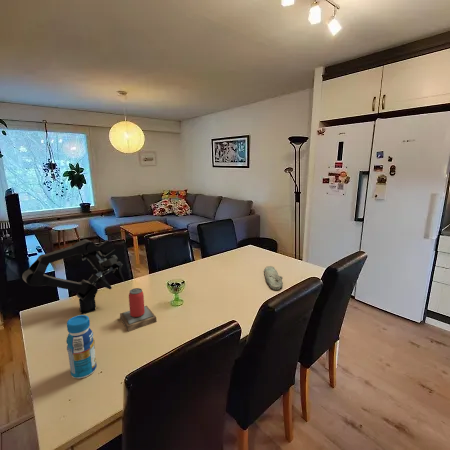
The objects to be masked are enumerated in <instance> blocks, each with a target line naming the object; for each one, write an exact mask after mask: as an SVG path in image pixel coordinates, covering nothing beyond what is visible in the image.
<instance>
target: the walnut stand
mask: <svg viewBox="0 0 450 450" xmlns="http://www.w3.org/2000/svg"><path fill="white" fill-rule="evenodd" d="M144 310H145V313H144V314H143V315H142V316H140V317H132V316H131V315H130V310H127V311H124V312H120V313H119V318H120V320H121V322H122V323H123V325H124V327H125V329H126V331H127V332H130V331H134V330H136V329H140V328H142V327H146V326H149V325H151V324H155V323H157V316H156V315H155V314H154V313H153V311H151V308H149V307H148V305H144Z"/></svg>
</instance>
